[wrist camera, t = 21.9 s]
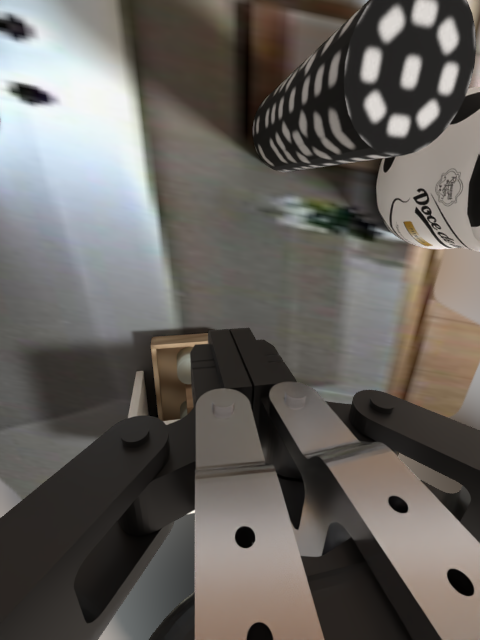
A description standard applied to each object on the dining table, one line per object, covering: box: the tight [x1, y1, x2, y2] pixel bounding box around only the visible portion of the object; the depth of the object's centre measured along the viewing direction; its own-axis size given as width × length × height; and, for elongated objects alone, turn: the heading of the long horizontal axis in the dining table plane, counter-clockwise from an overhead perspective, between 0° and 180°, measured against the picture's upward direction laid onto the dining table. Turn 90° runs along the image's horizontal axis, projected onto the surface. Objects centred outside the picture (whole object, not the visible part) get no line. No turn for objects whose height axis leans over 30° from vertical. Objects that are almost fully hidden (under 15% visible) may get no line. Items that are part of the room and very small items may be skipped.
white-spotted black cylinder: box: [253, 0, 476, 172], centre depth 26 cm, size 8×8×20 cm
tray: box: [151, 333, 208, 421], centre depth 42 cm, size 16×10×8 cm, turn 178°
